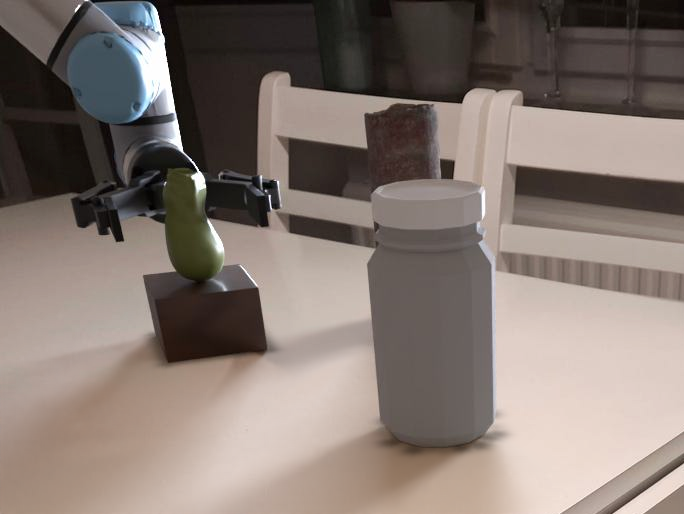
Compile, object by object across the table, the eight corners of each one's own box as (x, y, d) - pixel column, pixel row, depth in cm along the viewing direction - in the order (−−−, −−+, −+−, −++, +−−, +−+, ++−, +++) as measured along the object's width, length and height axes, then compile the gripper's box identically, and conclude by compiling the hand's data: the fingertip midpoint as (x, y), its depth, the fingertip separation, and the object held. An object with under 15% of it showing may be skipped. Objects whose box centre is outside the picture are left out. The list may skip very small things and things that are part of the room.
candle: (403, 332, 105) (388, 110, 93) (367, 316, 110) (348, 103, 98) (462, 318, 109) (455, 102, 96) (425, 303, 113) (414, 95, 101)
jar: (410, 401, 89) (395, 174, 78) (513, 414, 86) (513, 179, 75) (361, 442, 82) (337, 198, 71) (471, 458, 79) (464, 206, 68)
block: (167, 363, 99) (154, 299, 95) (155, 335, 106) (142, 274, 103) (267, 349, 102) (258, 287, 98) (249, 322, 109) (239, 263, 105)
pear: (182, 273, 103) (161, 163, 97) (233, 272, 103) (215, 161, 96) (167, 288, 98) (144, 173, 92) (221, 287, 98) (201, 172, 92)
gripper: (280, 207, 116) (325, 247, 100) (53, 229, 109) (63, 276, 93) (270, 132, 111) (316, 162, 95) (32, 150, 104) (40, 185, 88)
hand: (191, 218), depth 94 cm, fingers open, 13 cm apart
